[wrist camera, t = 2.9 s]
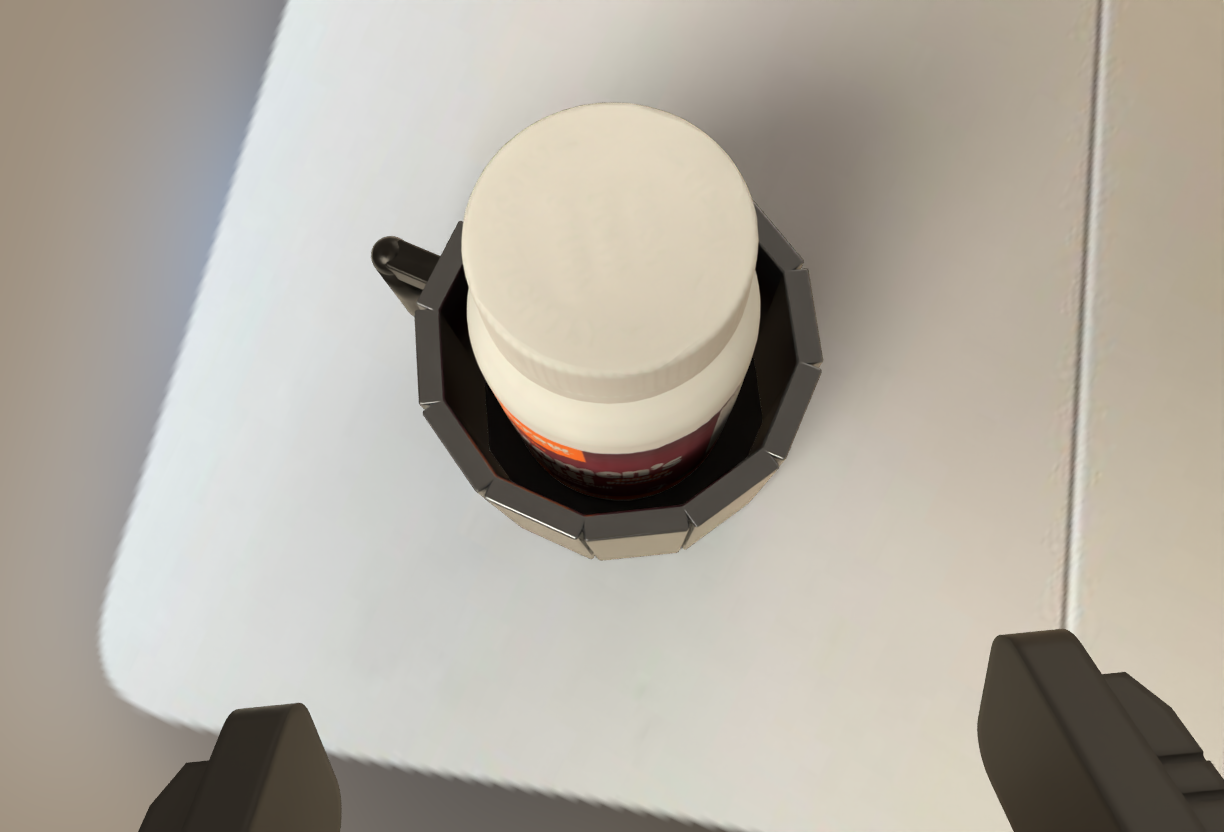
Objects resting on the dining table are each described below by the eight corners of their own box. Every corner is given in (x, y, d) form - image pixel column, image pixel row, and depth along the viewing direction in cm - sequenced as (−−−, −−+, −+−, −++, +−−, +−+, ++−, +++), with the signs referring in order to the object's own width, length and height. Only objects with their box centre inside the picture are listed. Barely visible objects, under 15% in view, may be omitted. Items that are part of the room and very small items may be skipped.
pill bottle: (502, 489, 25) (393, 385, 14) (535, 290, 27) (459, 56, 16) (714, 517, 25) (770, 432, 14) (737, 314, 26) (804, 92, 15)
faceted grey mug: (350, 449, 26) (264, 399, 20) (487, 187, 28) (445, 70, 22) (705, 611, 24) (724, 607, 19) (825, 323, 26) (877, 238, 20)
